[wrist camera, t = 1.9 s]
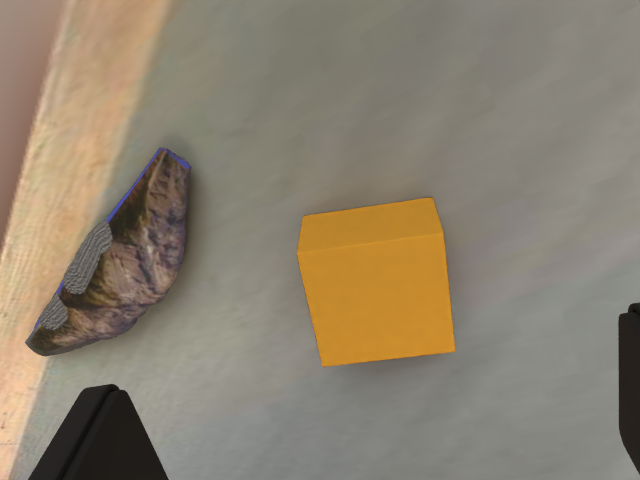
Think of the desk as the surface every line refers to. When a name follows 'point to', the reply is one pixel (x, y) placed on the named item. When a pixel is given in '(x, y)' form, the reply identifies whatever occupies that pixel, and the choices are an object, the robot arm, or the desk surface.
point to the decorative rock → (121, 263)
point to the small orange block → (377, 282)
